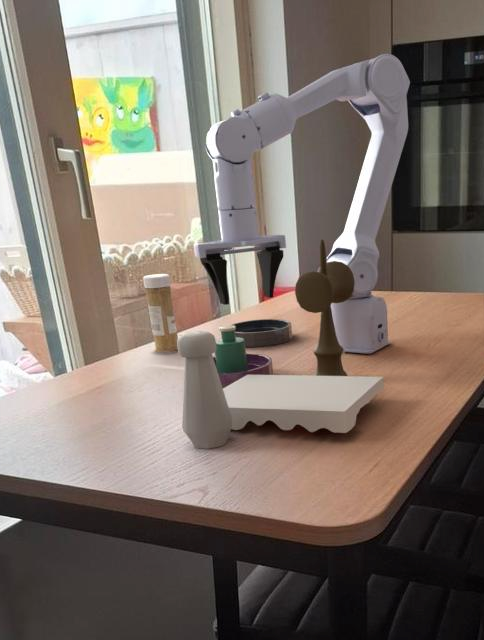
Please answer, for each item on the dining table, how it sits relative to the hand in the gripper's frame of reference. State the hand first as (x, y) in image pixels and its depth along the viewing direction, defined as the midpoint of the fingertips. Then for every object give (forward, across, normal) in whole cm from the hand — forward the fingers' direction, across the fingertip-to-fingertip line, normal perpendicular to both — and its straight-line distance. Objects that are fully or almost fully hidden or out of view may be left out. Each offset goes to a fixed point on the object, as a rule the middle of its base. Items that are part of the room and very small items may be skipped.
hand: (246, 300), depth 111 cm
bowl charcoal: (+10, +8, +14) cm, 19 cm away
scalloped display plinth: (+10, -7, -28) cm, 30 cm away
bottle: (+10, -7, -8) cm, 15 cm away
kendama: (+11, +4, -18) cm, 21 cm away
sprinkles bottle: (+10, -8, +20) cm, 24 cm away
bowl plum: (+10, -7, -8) cm, 15 cm away
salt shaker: (+10, -20, -30) cm, 38 cm away
